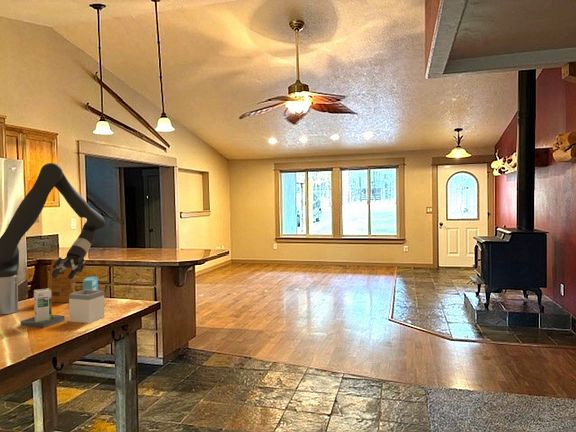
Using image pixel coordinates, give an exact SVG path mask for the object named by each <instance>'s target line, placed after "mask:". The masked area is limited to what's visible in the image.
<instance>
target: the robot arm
mask: <svg viewBox="0 0 576 432" xmlns="http://www.w3.org/2000/svg"><path fill="white" fill-rule="evenodd" d="M54 188H55V189H56V190H57V191H58V192H59V193H60V194H61V196H62V197H63V198H64V199H65V201H66V202H67V204H68V205H69V207H70V208H71V209H72V210H73V211H74V213H75V214H76V215H77V216H78V217H79V218H82V219H86V221H85V223H84V224H83V226H82V229H81V232H80V234H79V235H78V237H77V238H76V239H75V241H74V242H73V243H72V244H71V246H70V247H69V250H68V251H67V253H66V256H65V258H62V257H58V258H57V259H56V260H57V261H56V263H55V264H54V265H53V268H54V269H55V271H54V272H53V274H52V277H53V278H56V277H57V276H58V274H59V272H60V271H61V270H64V269H66V268H73V270H71V272H70V274H69V275H68V278H69V279H72V278H73V277H74V275H75V276H76V274H78V273H81V272H82V271H83V270H84V268H85V266H86V264H87V261H86V260H85V257H86V256H87V254H88V252H89V251H90V248H91V246H92V244H93V243H94V241H95V239H96V235H95V234H96V233H97V232H99V231H100V230H103V229H105V227H106V224H107V223H106V219H105V218H104V216H103V215H101V214H100V213H99V212H97V211H96V210H95V209H94V208H92V207H91V206H90V204H88V202H87V201H86V200H85V199H84V198H83V196H81V194H80V193H79V192H78V191H77V190H76V189H75V188H74V186H73V185H72V184H71V183H70V181H69V180H68V178H67V177H66V175H65V173H64V172H63V169H62V167H61V166H60V165H59V164H57V163H55V162H51V163H50V162H49V163H48V162H47V163H46V164H44V165H43V166H42V167H41V168H40V171H39V173H38V176H37V178H36V179H35V183H34V184H33V186H32V187H31V189H30V190H29V191H28V192H27V194H26V195H25V196H24V198H23V199H22V201H21V202H20V203H19V205H18V207H17V208H16V210H15V212H14V215H12V217H11V219H10V221H9V223H8V224H7V225H8V226H7V227H6V229H5V231H4V232H3V233H2V235H1V236H0V315H10V314H15V313H18V312H19V289H18V288H19V287H18V286H19V283H18V282H19V280H18V279H19V278H18V277H19V275H18V274H19V273H18V271H19V267H20V249H19V247H18V246H19V243H20V241H21V240H22V238H23V236H24V235H26V233H27V232H28V231H29V230H30V229H31V227H32V226H34V224H35V223H36V221H37V220H38V218H39V217H40V215H41V213H42V211H43V209H44V207H45V204H46V202H47V200H48V197H49V195H50V193H51V192H52V190H53V189H54ZM63 264H64V266H62V265H63ZM56 266H57V267H56ZM60 267H61V268H60ZM59 268H60V269H59Z"/></svg>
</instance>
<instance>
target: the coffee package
mask: <svg viewBox="0 0 576 432" xmlns="http://www.w3.org/2000/svg"><path fill="white" fill-rule="evenodd" d="M57 260H58V259H54V258H52V259H51V264H50V275H49V289H50V290H51V304H52V303H53V304H54V303H60V304H61V303H62V304H63V303H69V294H71V293H75V292H76V290H75V288H76V274H75V275H74V277H73V278H72V279H69V278H68V275H69V274H70V272H71V270H73V268H66V269H64V270H61V271H60V272H59V274H58V276H57V277H56V278H53V277H52V274H53V272H54V271H55V269H54V268H53V265H54V264H55V263H56V261H57ZM62 266H64V264H63V265H62ZM56 267H57V266H56ZM60 268H61V267H60ZM60 268H59V269H60Z"/></svg>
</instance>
